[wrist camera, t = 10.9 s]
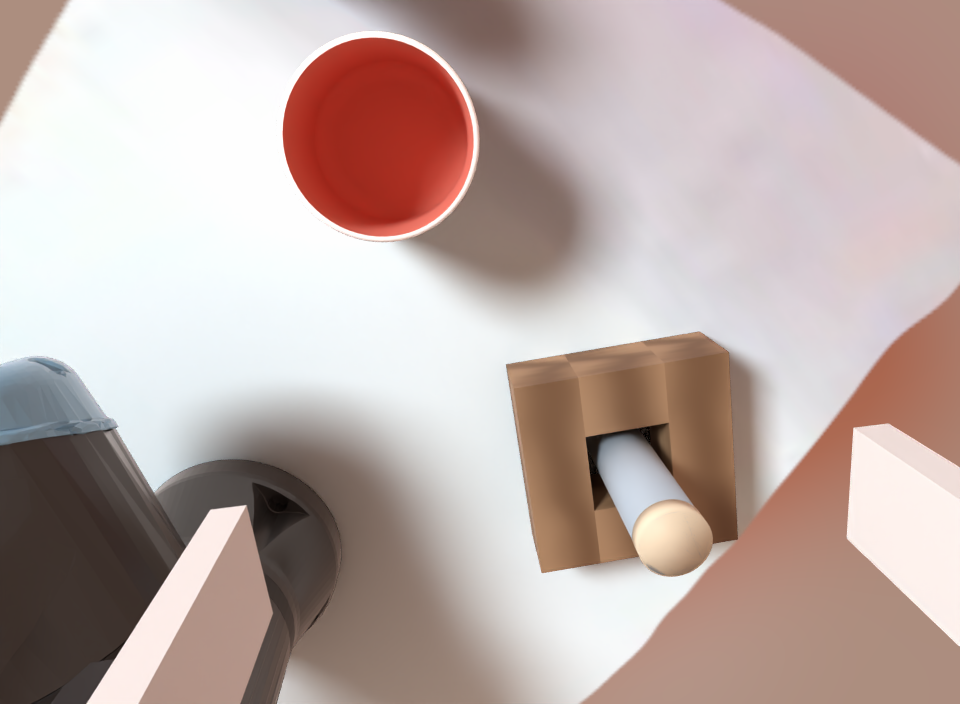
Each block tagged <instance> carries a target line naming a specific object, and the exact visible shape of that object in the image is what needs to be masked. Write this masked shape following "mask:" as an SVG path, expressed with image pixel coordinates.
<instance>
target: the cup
mask: <svg viewBox="0 0 960 704" xmlns="http://www.w3.org/2000/svg"><path fill="white" fill-rule="evenodd" d="M277 142H278V150H279V155H280V159H281V163H282V166H283V169H284V172H285V174H286V176H287V179H288V181H289V183H290V185H291V187H292V188H293V190H294V192H295V193H296V195H297V196H298V198H299V199H300V200H301V202H302V203H303V204H304V205H305V206H306V207H307V209H308V210H309V211H310V212H311V213H312V214H314V215H315V216H316V217H317V218H318V219H319V220H321V221H322V222H323V223H325V224H326V225H328V226H329V227H331V228H333V229H334V230H336V231H338V232H341V233H343V234H345V235H347V236H350V237H354V238H357V239H361V240H366V241H373V242H394V241H400V240H405V239H409V238H412V237H415V236H418V235H420V234H422V233H424V232H426V231H428V230H430V229H432V228H433V227H435V226H437V225H438V224H439V223H441V222H442V221H443V220H444V219H446V218H447V217H448V216H449V215H450V214H451V213H452V212H453V211H454V209H455V208H456V207H457V206H458V205H459V203H460V202H461V201H462V199H463V198H464V196H465V194H466V193H467V191H468V189H469V187H470V184H471V182H472V180H473V177H474V174H475V171H476V167H477V162H478V156H479V143H480V138H479V126H478V120H477V115H476V112H475V108H474V105H473V103H472V100H471V97H470V95H469V93H468V91H467V89H466V87H465V85H464V84H463V82H462V80H461V79H460V77H459V76H458V75H457V73H456V72H455V71H454V70H453V68H452V67H451V66H450V65H449V64H448V63H447V62H446V61H445V60H444V59H443V58H442V57H441V56H439V55H438V54H437V53H436V52H434V51H433V50H432V49H430V48H429V47H427V46H425V45H424V44H422V43H420V42H418V41H416V40H414V39H411V38H408V37H406V36H403V35H399V34H395V33H391V32H383V31H364V32H357V33H352V34H349V35H345V36H342V37H339V38H337V39H334V40H332V41H330V42H329V43H327V44H325V45H323V46H322V47H320V48H319V49H317V50H316V51H315V52H314V53H312V54H311V55H310V56H309V57H308V58H307V59H306V60H305V61H304V62H303V63H302V64H301V65H300V67H299V68H298V69H297V71H296V72H295V74H294V75H293V77H292V78H291V80H290V82H289V84H288V86H287V88H286V90H285V93H284V95H283V98H282V101H281V105H280V109H279V114H278V122H277Z"/></svg>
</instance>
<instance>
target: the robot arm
mask: <svg viewBox="0 0 960 704" xmlns="http://www.w3.org/2000/svg"><path fill="white" fill-rule="evenodd" d="M117 427H118V425H117V423H116V422H115V421H114V420H113V419H111V418H108V417H107V416H106V415H105V414H104V412H103V411H102V410H101V408H100V407H99V405H98V404H97V402H96V401H95V399H94V398H93V396H92V395H91V393H90V392H89V391H88V389H87V388H86V386H85V385H84V383H83V382H82V380H81V379H80V377H79V376H78V375H77V373H76V372H75V371H74V370H73V369H72V368H71V367H69V366H68V365H66V364H65V363H63V362H61V361H58V360H56V359H53V358H48V357H42V356H31V357H25V358H21V359H17V360H14V361H10V362H7V363H4V364H0V704H277V701H278V697H279V693H280V690H281V686H282V683H283V679H284V675H285V672H286V668H287V664H288V661H289V657H290V654H291V651H292V648H293V647H294V646H295V644H296V643H297V642H298V640H299V639H300V638H301V637H302V635H303V634H304V633H305V632H306V631H307V630H308V629H309V628H310V627H311V626H312V625H313V624H314V623H315V622H316V621H317V619H318V618H319V617H320V616H321V614H322V613H323V612H324V610H325V608H326V607H327V605H328V603H329V601H330V599H331V597H332V594H333V592H334V589H335V585H336V581H337V577H338V573H339V569H340V564H341V541H340V536H339V532H338V529H337V526H336V523H335V521H334V519H333V517H332V515H331V513H330V511H329V510H328V508H327V507H326V505H325V504H324V502H323V501H322V500H321V499H320V498H319V496H318V495H317V494H316V493H315V492H314V491H313V490H311V489H310V488H309V487H308V486H307V485H306V484H304V483H303V482H302V481H300V480H299V479H297V478H296V477H294V476H292V475H290V474H289V473H286V472H284V471H282V470H280V469H278V468H275V467H272V466H269V465H266V464H262V463H258V462H253V461H246V460H218V461H212V462H207V463H203V464H199V465H196V466H193V467H190V468H188V469H186V470H184V471H182V472H180V473H178V474H176V475H175V476H173V477H172V478H170V479H169V480H167V481H166V482H165V483H164V484H163V485H161V486H160V487H159V488H158V489H157V490H156V492H155V493H154V492H153V491H152V489H151V487H150V486H149V484H148V482H147V481H146V479H145V477H144V476H143V474H142V472H141V471H140V469H139V467H138V465H137V464H136V462H135V460H134V459H133V457H132V455H131V454H130V452H129V450H128V449H127V447H126V445H125V444H124V442H123V440H122V439H121V437H120V435H119V434H118V432H117V430H116V429H115V428H117ZM848 511H849V512H848V526H847V539H848V540H849V541H850V542H851V543H852V544H853V545H854V546H855V547H856V548H857V549H858V550H859V551H860V552H862V553H863V554H864V555H865V556H866V557H867V558H868V559H869V560H870V561H871V562H872V563H873V564H874V565H875V566H876V567H877V568H878V569H879V570H880V571H881V572H883V574H884V575H886V576H887V577H888V578H889V579H890V580H891V581H892V582H893V583H894V584H895V585H896V586H897V587H898V588H899V589H900V590H901V591H902V592H903V593H904V594H905V595H907V596H908V598H909V599H910V600H912V601H913V602H914V603H915V604H916V605H917V606H918V607H919V608H920V609H921V610H922V611H923V612H924V613H925V614H926V615H927V616H928V617H930V619H931V620H932V621H933V622H935V624H937V625H938V626H939V627H940V628H941V629H942V630H943V631H944V632H945V633H946V634H947V635H948V636H949V637H950V638H952V640H953V641H954V642H955V643H956V644H957V645H958V646H959V647H960V467H958V466H957V465H955V464H953V463H952V462H950V461H948V460H947V459H945V458H943V457H942V456H940V455H938V454H937V453H935V452H934V451H932V450H931V449H929V448H927V447H926V446H924V445H922V444H921V443H919V442H917V441H916V440H914V439H913V438H911V437H909V436H908V435H906V434H904V433H903V432H901V431H900V430H898V429H896V428H895V427H893V426H891V425H890V424H881V425H874V426H866V427H858V428H854V431H853V446H852V463H851V479H850V494H849V510H848Z"/></svg>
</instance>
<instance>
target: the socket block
mask: <svg viewBox="0 0 960 704" xmlns="http://www.w3.org/2000/svg"><path fill="white" fill-rule="evenodd" d="M506 367H507V374H508V380H509V387H510V393H511V400H512V406H513V413H514V419H515V425H516V432H517V438H518V445H519V451H520V458H521V464H522V470H523V477H524V483H525V490H526V496H527V503H528V509H529V516H530V522H531V528H532V534H533V539H534V543H535V547H536V551H537V555H538V559H539V563H540V568H541V572H542V573H546V572H552V571H558V570H563V569H569V568H575V567H581V566H587V565H592V564H598V563H604V562H610V561H615V560H621V559H627V558H633V557H638V556H639V555H638V553H637V551H636V549H635V547H634V544H633V540H632V538H631V536H630V534H629V532H628V530H627V528H626V526H625V524H624V522H623V520H622V518H621V516H620V514H619V512H618V510H617V508H616V506H615V504H614V502H613V500H612V498H611V496H610V494H609V492H608V490H607V488H606V486H605V484H604V482H603V480H602V478H601V476H600V474H599V473H597V474H592V475H590V470H589V462H588V454H587V446H586V437H588V436H594V435H600V434H606V433H612V432H618V431H623V430H629V429H635V428H641V427H647V426H649V430H650V442H651V447H652V448H653V449H654V451H655V452H656V454H657V455H658V456H659V458H660V459H661V461H662V462H663V463H664V465H665V466H666V468H667V469H668V470H669V472H670V473H671V475H672V476H673V477H674V479H675V480H676V482H677V483H678V484H679V486H680V487H681V489H682V490H683V491H684V493H685V494H686V496H687V497H688V498H689V500H690V501H691V503H692V504H693V505H694V507H695V508H696V509H697V510H698V511H699V512H700V514H701V515H702V516H703V518H704V519H705V521H706V522H707V523H708V525H709V527H710V529H711V531H712V536H713V543H712V544H714V543H719V542H725V541H731V540H737V539H738V534H737V513H736V492H735V472H734V451H733V430H732V409H731V389H730V368H729V352H728V351H727V350H725V349H724V348H722V347H721V346H719V345H718V344H717V343H715V342H714V341H712V340H711V339H709V338H708V337H707V336H705V335H704V334H702V333H701V332H694V333H688V334H682V335H676V336H671V337H665V338H659V339H653V340H647V341H641V342H635V343H629V344H624V345H618V346H612V347H606V348H600V349H594V350H588V351H582V352H576V353H571V354H565V355H559V356H553V357H547V358H541V359H535V360H529V361H524V362H518V363H512V364H506Z"/></svg>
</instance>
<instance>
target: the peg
mask: <svg viewBox="0 0 960 704" xmlns="http://www.w3.org/2000/svg"><path fill="white" fill-rule="evenodd" d="M586 446H587V449H588V451H589V453H590V455H591V457H592V459H593V462H594V464H595V466H596V468H597V470H598V472H599V474H600V476H601V478H602V480H603V482H604V484H605V486H606V488H607V490H608V492H609V494H610V496H611V498H612V500H613V502H614V504H615V506H616V508H617V510H618V512H619V514H620V516H621V518H622V520H623V522H624V524H625V526H626V528H627V530H628V532H629V534H630V536H631V538H632V540H633V544H634V547H635V549H636V551H637V553H638V555H639V557H640V559H641V561H642V563H643V564H644V565H645V566H646V567H647V568H648V569H649V570H650V571H652V572H654V573H656V574H658V575H662V576H668V577H674V576H680V575H684V574H687V573H689V572H691V571H693V570H695V569H696V568H698V567H699V566H700V565H701V564H702V563H703V562H704V561H705V560H706V558H707V557H708V555H709V553H710V551H711V548H712V543H713V536H712V531H711V529H710V527H709V525H708V523H707V522H706V521H705V519H704V518H703V516H702V515H701V514H700V512H699V511H698V510H697V509H696V508H695V507H694V505H693V504H692V503H691V501H690V500H689V498H688V497H687V496H686V494H685V493H684V491H683V490H682V489H681V487H680V486H679V484H678V483H677V482H676V480H675V479H674V477H673V476H672V475H671V473H670V472H669V470H668V469H667V468H666V466H665V465H664V463H663V462H662V461H661V459H660V458H659V456H658V455H657V454H656V452H655V451H654V449H653V448H652V447H651V445H650V444H649V442H648V441H647V440H646V438H645V437H644V435H643V434H642V433H641V431H640V430H639V428H635V429H629V430H623V431H618V432H612V433H606V434H600V435H594V436H588V437H586Z"/></svg>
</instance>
